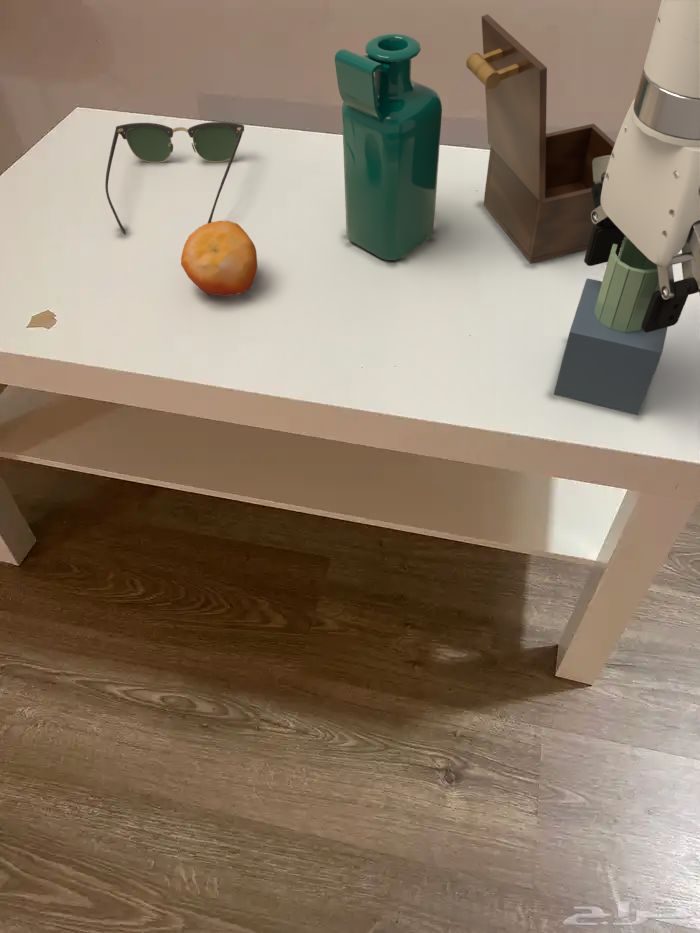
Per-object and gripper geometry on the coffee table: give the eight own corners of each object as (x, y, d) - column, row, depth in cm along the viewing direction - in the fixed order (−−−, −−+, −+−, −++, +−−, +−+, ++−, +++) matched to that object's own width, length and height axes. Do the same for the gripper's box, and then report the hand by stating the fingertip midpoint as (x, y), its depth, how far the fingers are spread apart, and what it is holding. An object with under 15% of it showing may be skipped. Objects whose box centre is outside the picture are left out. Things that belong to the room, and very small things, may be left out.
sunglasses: (96, 234, 94) (84, 197, 90) (126, 158, 104) (116, 122, 100) (233, 234, 93) (227, 196, 89) (249, 157, 104) (244, 121, 100)
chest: (580, 182, 98) (594, 123, 92) (634, 237, 91) (652, 177, 85) (483, 204, 96) (490, 145, 90) (530, 263, 88) (541, 203, 82)
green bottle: (387, 206, 96) (390, 13, 79) (440, 234, 92) (455, 38, 75) (331, 242, 92) (320, 47, 74) (384, 273, 88) (386, 74, 71)
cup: (655, 302, 72) (676, 242, 67) (647, 337, 69) (668, 277, 64) (599, 290, 73) (616, 230, 68) (589, 324, 70) (606, 264, 65)
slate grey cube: (650, 359, 78) (674, 296, 72) (638, 415, 74) (662, 352, 68) (570, 341, 80) (586, 277, 74) (553, 394, 76) (569, 331, 69)
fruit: (268, 243, 89) (254, 211, 82) (262, 310, 88) (247, 284, 81) (199, 240, 90) (179, 208, 82) (192, 306, 89) (171, 281, 81)
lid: (487, 13, 78) (448, 28, 78) (547, 67, 71) (503, 84, 71) (493, 141, 89) (458, 154, 89) (545, 198, 82) (507, 213, 82)
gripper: (818, 151, 51) (724, 346, 65) (667, 40, 61) (613, 228, 75) (719, 174, 50) (645, 368, 63) (582, 56, 60) (543, 245, 73)
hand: (628, 292), depth 69 cm, fingers open, 9 cm apart
